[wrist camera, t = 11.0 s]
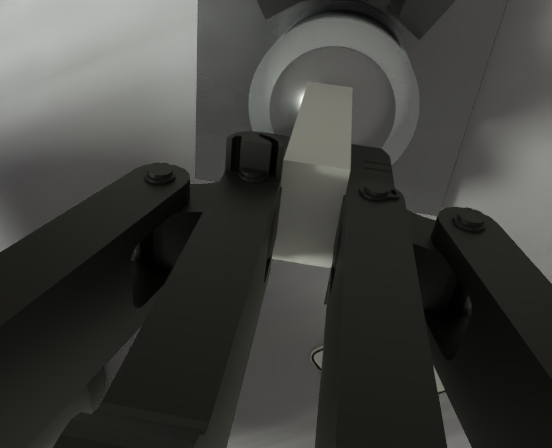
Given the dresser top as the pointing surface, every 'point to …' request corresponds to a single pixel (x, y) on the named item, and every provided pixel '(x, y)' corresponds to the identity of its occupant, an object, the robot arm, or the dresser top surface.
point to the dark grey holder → (422, 54)
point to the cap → (340, 75)
